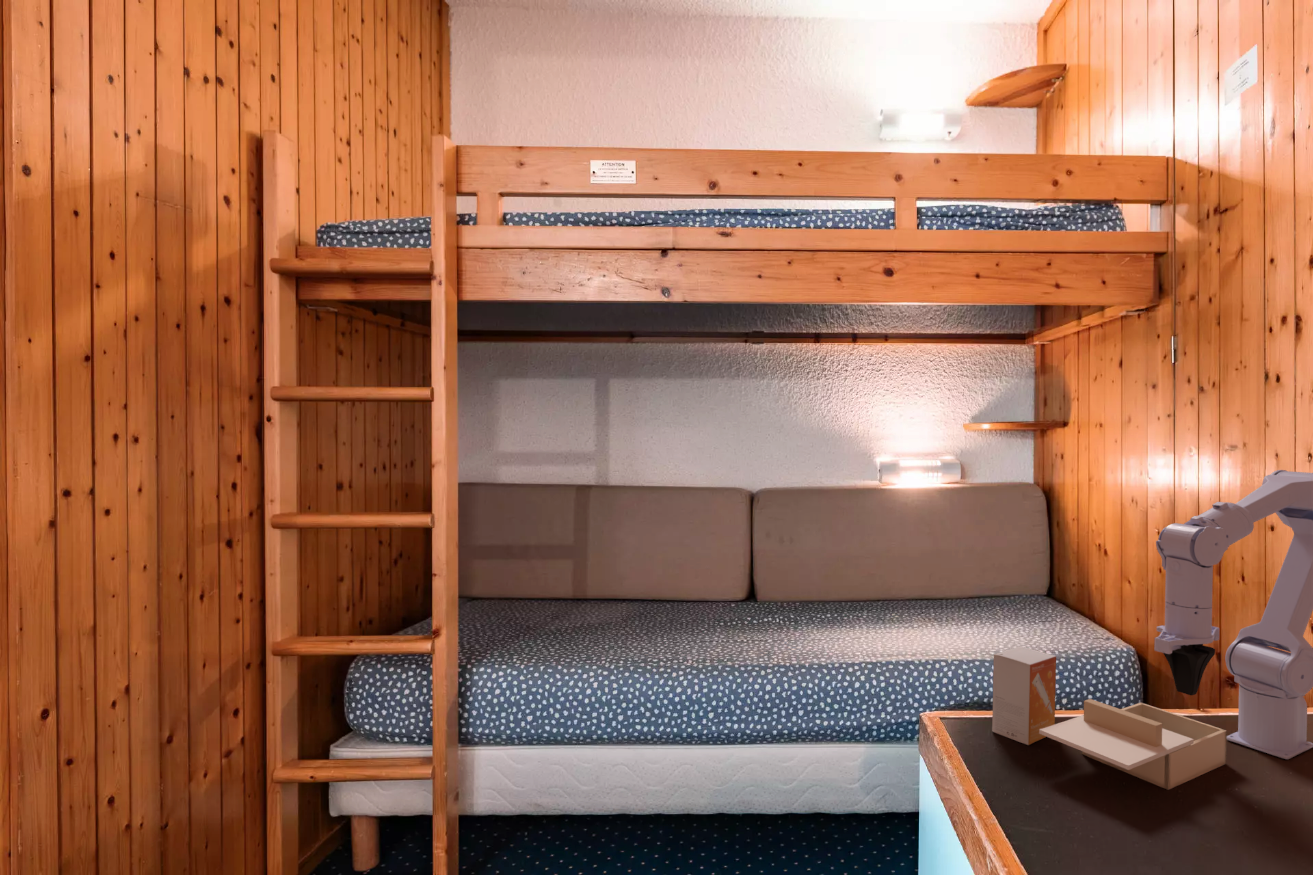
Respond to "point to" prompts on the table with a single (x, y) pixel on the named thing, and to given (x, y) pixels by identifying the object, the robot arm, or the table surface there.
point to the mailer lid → (1116, 735)
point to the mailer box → (1184, 761)
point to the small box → (1023, 693)
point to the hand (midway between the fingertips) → (1186, 692)
